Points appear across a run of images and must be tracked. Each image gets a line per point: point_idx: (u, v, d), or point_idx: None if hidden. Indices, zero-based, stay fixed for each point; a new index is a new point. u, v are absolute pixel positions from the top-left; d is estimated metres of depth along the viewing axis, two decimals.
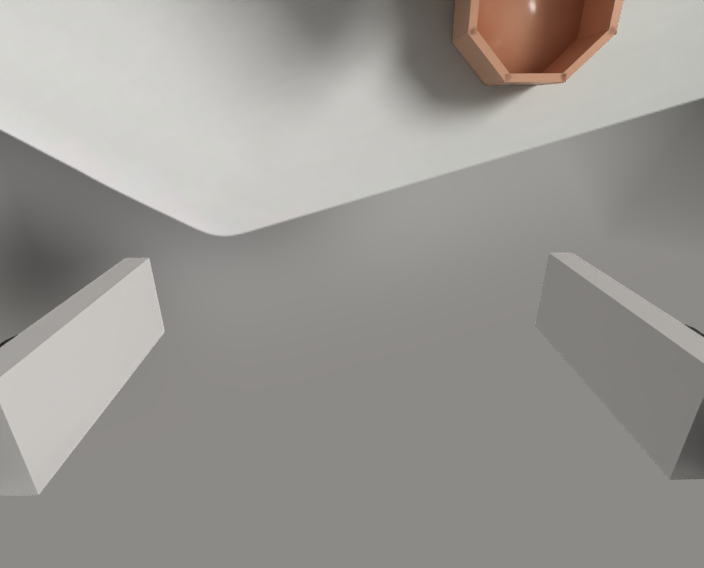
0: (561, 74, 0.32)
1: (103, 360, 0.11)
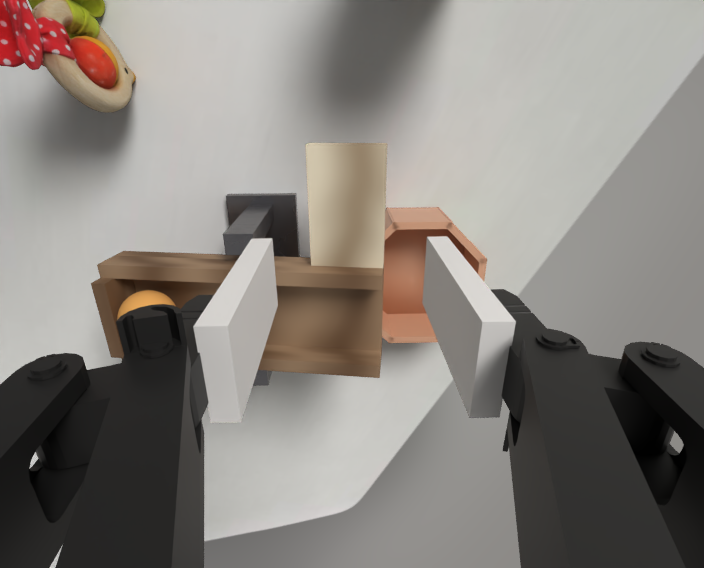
0: None
1: (259, 321, 0.12)
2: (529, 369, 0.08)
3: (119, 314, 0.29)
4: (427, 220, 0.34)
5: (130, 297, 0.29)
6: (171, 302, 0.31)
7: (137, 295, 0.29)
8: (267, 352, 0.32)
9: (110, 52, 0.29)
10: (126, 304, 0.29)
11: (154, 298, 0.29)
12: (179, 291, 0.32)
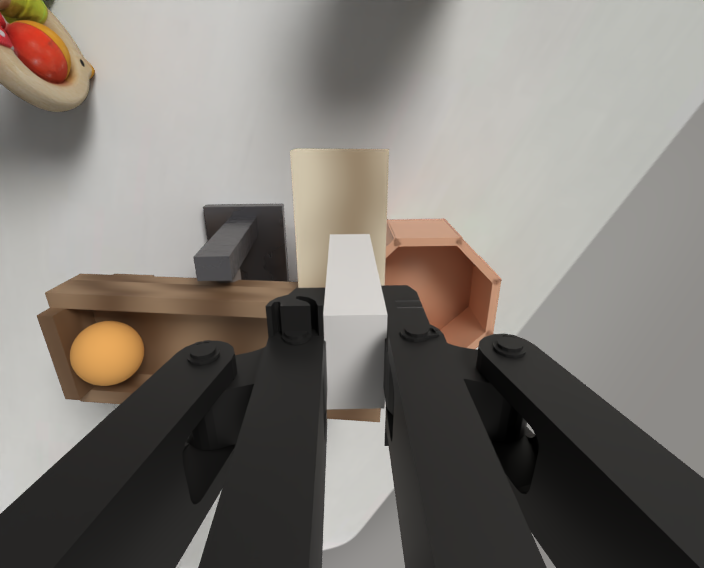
0: (485, 333, 0.32)
1: None
2: (394, 365, 0.08)
3: (71, 351, 0.24)
4: (433, 235, 0.29)
5: (85, 331, 0.25)
6: (135, 335, 0.26)
7: (93, 328, 0.25)
8: None
9: (59, 40, 0.25)
10: (79, 339, 0.24)
11: (114, 332, 0.25)
12: (146, 320, 0.27)
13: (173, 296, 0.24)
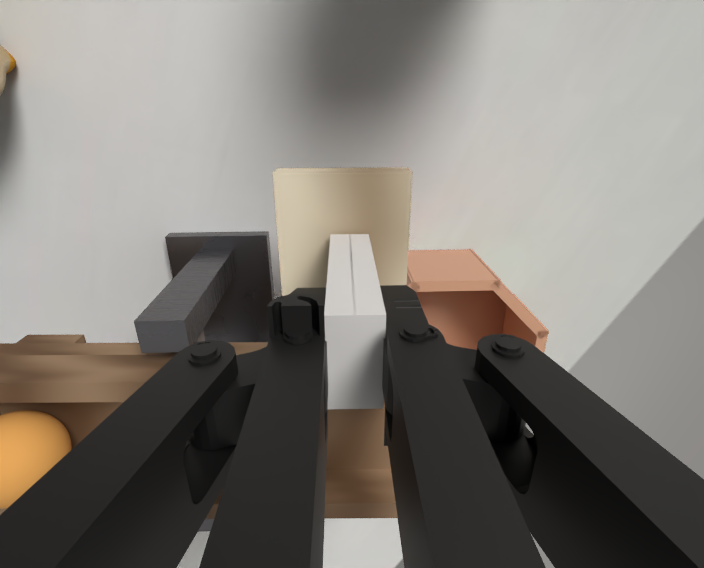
0: None
1: None
2: (393, 365, 0.08)
3: None
4: (462, 277, 0.23)
5: None
6: (56, 429, 0.19)
7: None
8: None
9: None
10: None
11: (22, 432, 0.17)
12: (73, 403, 0.20)
13: (108, 378, 0.17)
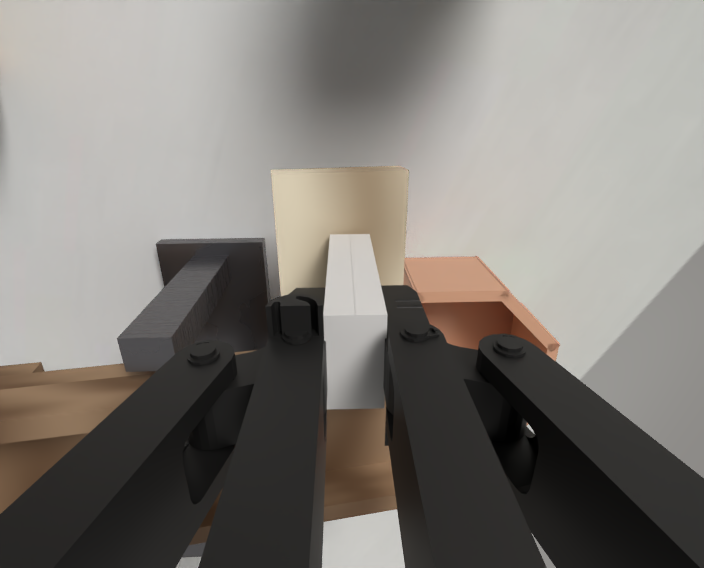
0: None
1: None
2: (394, 365, 0.08)
3: None
4: (469, 287, 0.21)
5: None
6: None
7: None
8: None
9: None
10: None
11: None
12: (41, 439, 0.18)
13: (93, 405, 0.15)
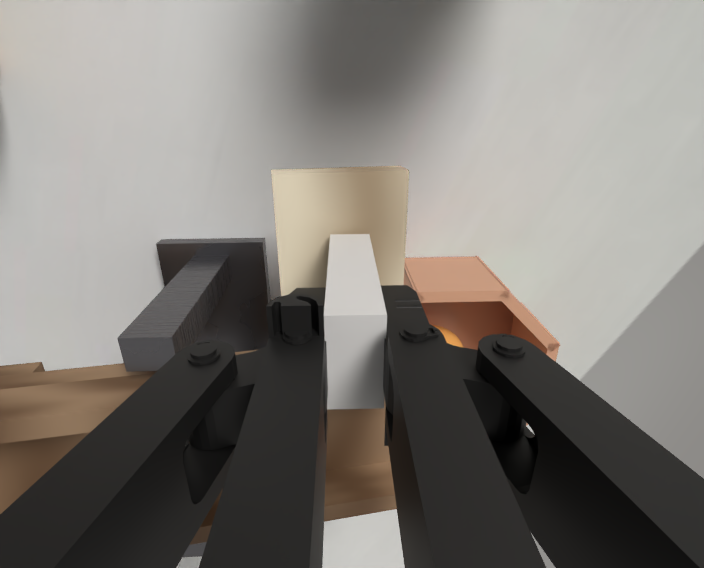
0: None
1: None
2: (393, 365, 0.08)
3: None
4: (469, 287, 0.21)
5: (438, 326, 0.25)
6: None
7: None
8: None
9: None
10: None
11: None
12: (42, 439, 0.18)
13: (94, 405, 0.16)
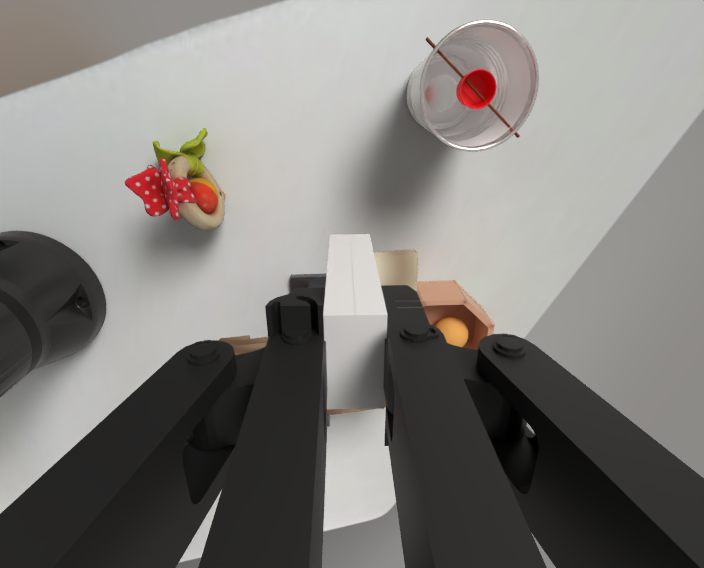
0: None
1: None
2: (394, 365, 0.08)
3: None
4: (448, 297, 0.44)
5: (446, 317, 0.48)
6: (460, 333, 0.46)
7: (447, 318, 0.48)
8: None
9: (214, 188, 0.40)
10: (440, 319, 0.48)
11: (450, 325, 0.47)
12: None
13: None
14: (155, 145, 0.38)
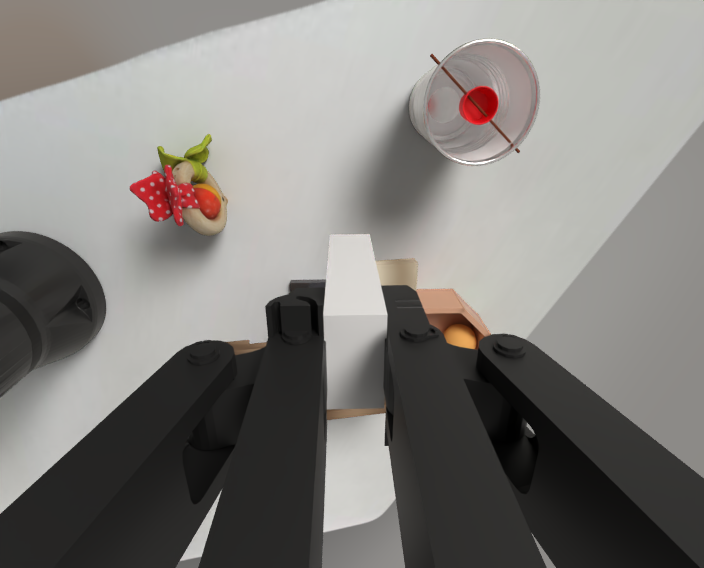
0: None
1: None
2: (394, 365, 0.08)
3: (444, 334, 0.49)
4: (445, 306, 0.45)
5: (452, 326, 0.48)
6: (474, 337, 0.48)
7: (457, 326, 0.48)
8: None
9: (218, 194, 0.40)
10: (449, 330, 0.48)
11: (465, 332, 0.47)
12: None
13: None
14: (160, 150, 0.39)
